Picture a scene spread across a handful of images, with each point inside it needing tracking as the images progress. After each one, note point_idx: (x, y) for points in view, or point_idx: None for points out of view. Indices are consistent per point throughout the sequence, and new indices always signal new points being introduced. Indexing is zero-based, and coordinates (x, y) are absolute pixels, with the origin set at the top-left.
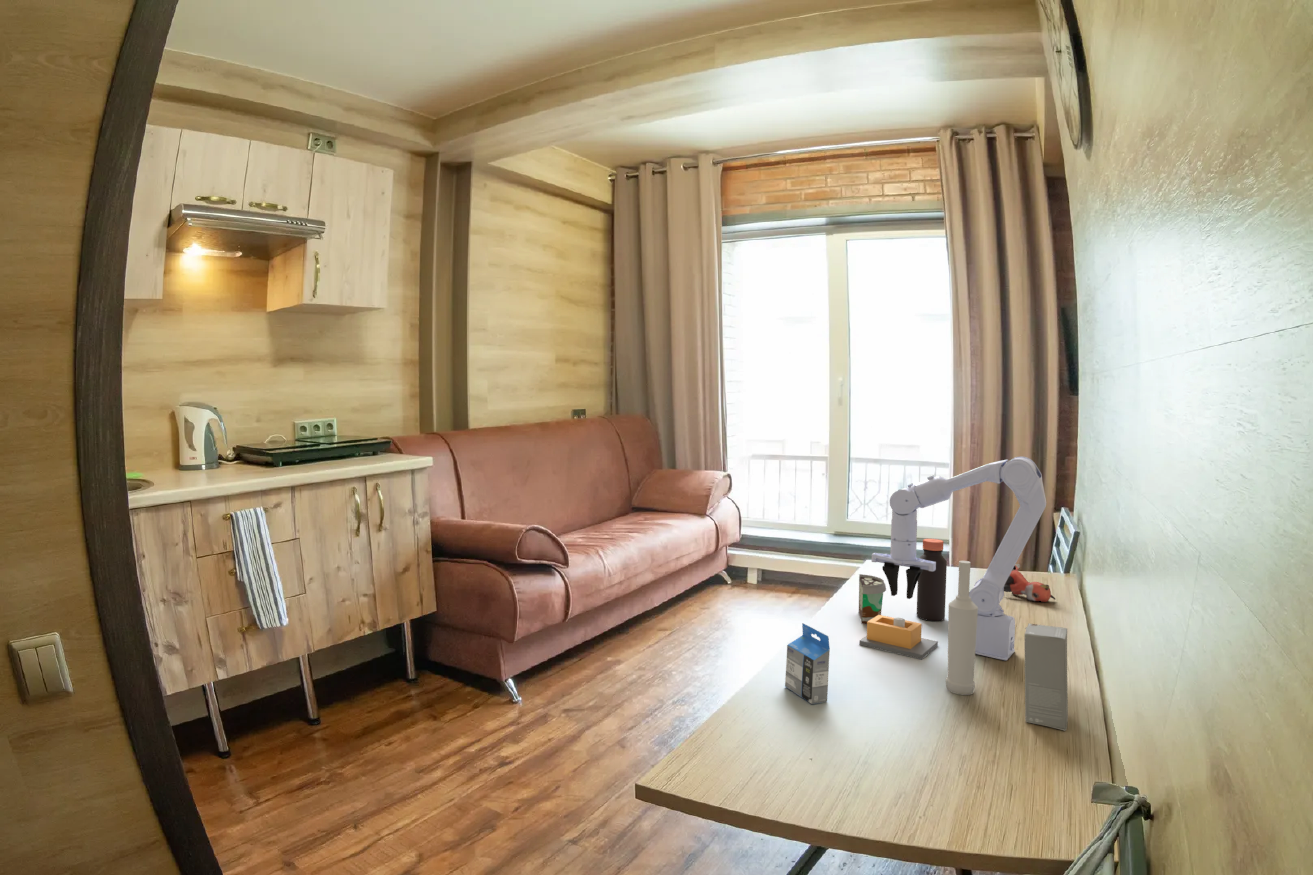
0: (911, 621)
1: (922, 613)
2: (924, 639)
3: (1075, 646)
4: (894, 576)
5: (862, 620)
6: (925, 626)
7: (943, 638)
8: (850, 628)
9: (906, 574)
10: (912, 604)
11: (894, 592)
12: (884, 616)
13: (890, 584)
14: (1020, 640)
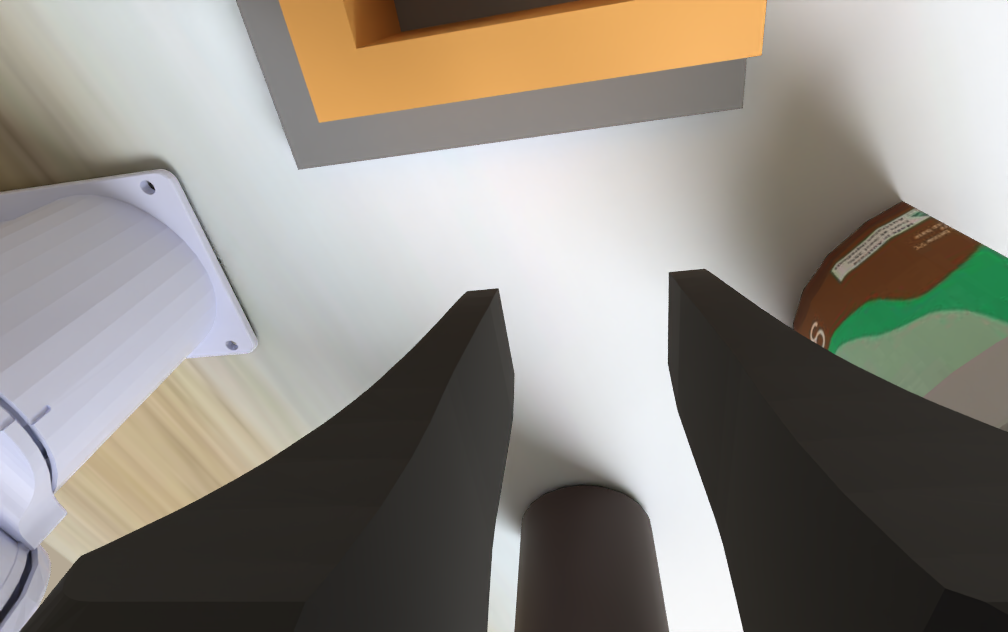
0: (410, 106)
1: (604, 509)
2: (371, 137)
3: (61, 532)
4: (764, 512)
5: (910, 213)
6: (541, 409)
7: (374, 305)
8: (975, 15)
9: (354, 526)
10: (723, 611)
11: (676, 305)
12: (684, 43)
13: (771, 333)
14: (183, 486)
